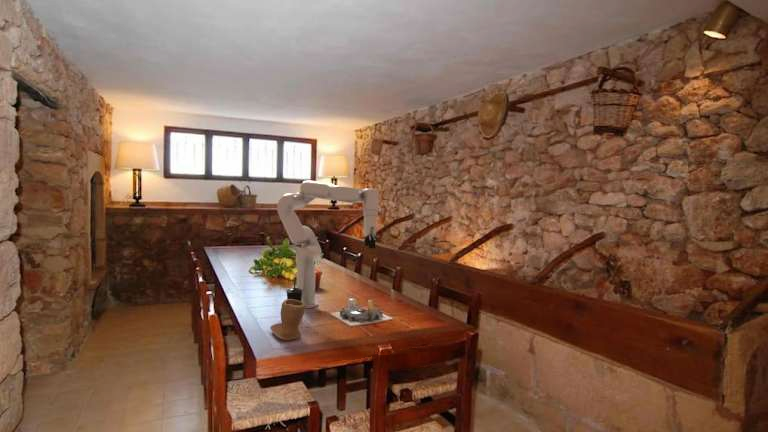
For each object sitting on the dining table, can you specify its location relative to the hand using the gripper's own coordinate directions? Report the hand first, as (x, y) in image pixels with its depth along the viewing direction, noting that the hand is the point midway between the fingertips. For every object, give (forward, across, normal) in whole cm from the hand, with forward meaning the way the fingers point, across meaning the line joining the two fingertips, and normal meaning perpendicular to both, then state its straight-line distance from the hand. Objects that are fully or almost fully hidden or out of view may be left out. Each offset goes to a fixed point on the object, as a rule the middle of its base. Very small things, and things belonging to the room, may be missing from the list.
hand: (369, 246), depth 213 cm
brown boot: (+33, +30, -41) cm, 60 cm away
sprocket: (+33, +9, -6) cm, 35 cm away
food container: (+32, -55, -26) cm, 69 cm away
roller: (+33, -6, -8) cm, 34 cm away
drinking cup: (+33, +8, -38) cm, 51 cm away
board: (+33, +9, -6) cm, 35 cm away
